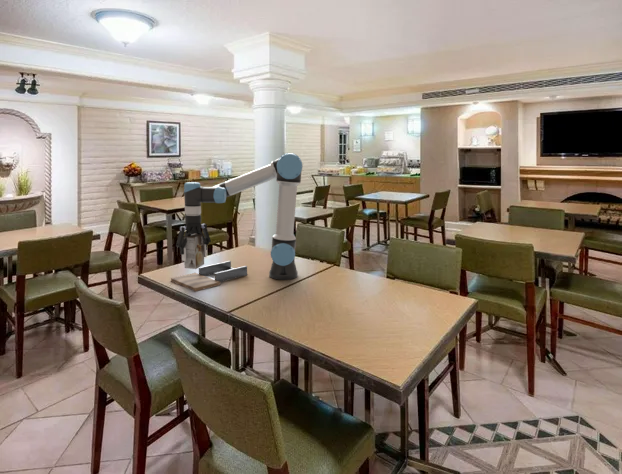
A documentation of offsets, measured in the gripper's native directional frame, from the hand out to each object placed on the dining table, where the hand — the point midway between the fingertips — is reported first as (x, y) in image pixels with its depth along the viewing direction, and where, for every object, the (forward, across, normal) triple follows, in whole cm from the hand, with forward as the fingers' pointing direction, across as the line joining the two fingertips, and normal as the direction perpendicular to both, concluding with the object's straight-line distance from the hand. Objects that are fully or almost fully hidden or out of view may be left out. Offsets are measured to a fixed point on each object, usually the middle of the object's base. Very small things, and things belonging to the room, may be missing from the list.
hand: (194, 258), depth 204 cm
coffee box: (+4, 0, 0) cm, 4 cm away
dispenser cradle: (+12, -17, 0) cm, 21 cm away
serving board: (+13, 0, 0) cm, 13 cm away
